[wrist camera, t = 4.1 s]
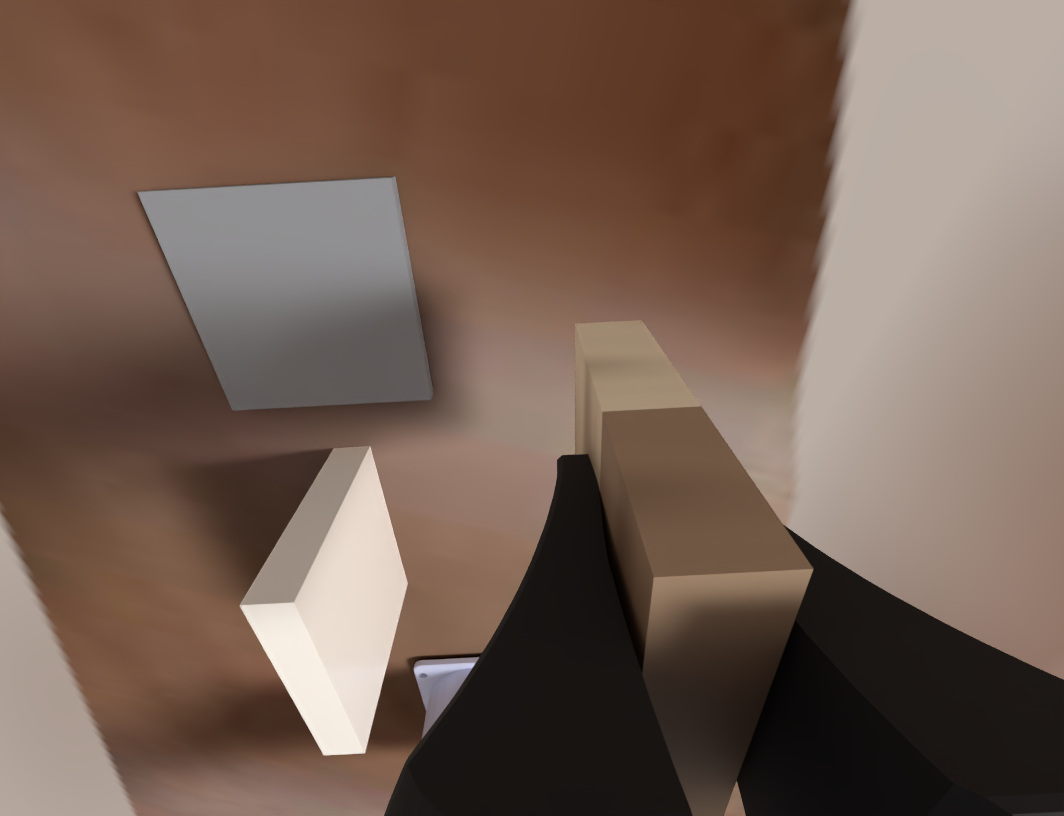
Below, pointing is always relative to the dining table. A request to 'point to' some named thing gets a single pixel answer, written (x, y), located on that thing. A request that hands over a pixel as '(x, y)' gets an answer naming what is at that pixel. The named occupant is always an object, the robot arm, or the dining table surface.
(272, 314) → the mat
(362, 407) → the dining table surface
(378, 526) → the tile
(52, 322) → the dining table surface
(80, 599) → the dining table surface
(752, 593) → the stepped beige block
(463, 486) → the dining table surface
